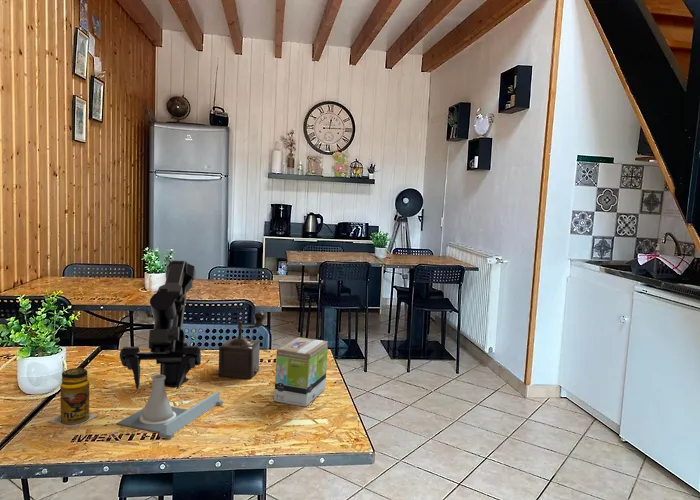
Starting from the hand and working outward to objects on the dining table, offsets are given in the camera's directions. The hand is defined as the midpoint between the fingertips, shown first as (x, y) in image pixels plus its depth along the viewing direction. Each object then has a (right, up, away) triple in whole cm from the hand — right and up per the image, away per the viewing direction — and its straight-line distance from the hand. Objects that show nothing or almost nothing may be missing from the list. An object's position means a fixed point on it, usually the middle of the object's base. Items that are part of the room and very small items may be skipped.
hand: (157, 388), depth 122 cm
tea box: (+32, -8, +21) cm, 40 cm away
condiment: (-20, -7, 0) cm, 22 cm away
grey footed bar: (+8, -8, +3) cm, 12 cm away
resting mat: (-1, -8, +2) cm, 8 cm away
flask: (-1, -8, +2) cm, 8 cm away
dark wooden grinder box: (+12, -5, +40) cm, 42 cm away
